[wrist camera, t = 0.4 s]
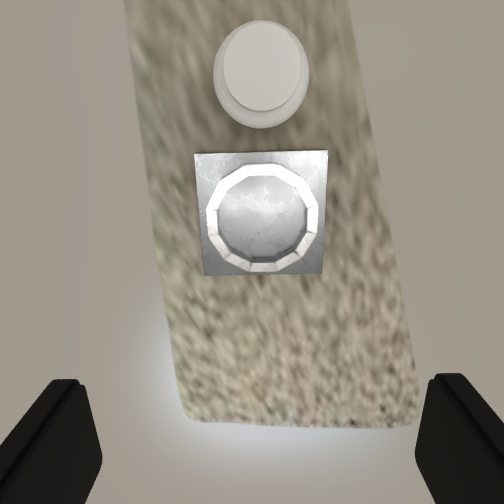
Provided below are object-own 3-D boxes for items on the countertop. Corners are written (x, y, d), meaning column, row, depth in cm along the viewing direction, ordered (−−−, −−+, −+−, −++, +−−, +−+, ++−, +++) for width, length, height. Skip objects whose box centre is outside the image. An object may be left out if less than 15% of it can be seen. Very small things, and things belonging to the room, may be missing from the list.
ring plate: (195, 153, 34) (191, 155, 31) (325, 149, 33) (331, 151, 31) (205, 272, 38) (202, 281, 36) (320, 269, 38) (324, 278, 36)
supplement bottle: (309, 96, 32) (342, 78, 20) (254, 142, 33) (254, 152, 21) (265, 32, 30) (272, -30, 18) (209, 84, 32) (182, 59, 19)
